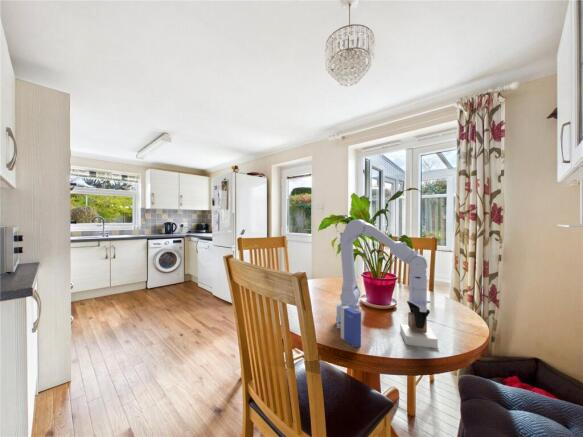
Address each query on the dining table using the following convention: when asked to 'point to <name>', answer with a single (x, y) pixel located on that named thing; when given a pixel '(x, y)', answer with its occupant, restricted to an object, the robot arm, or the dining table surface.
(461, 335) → the dining table surface
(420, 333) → the base block
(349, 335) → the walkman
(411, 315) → the walnut cube
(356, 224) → the robot arm
